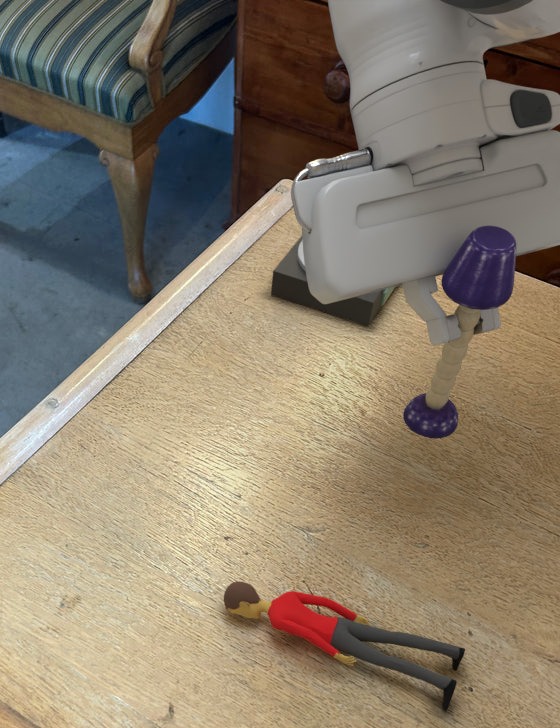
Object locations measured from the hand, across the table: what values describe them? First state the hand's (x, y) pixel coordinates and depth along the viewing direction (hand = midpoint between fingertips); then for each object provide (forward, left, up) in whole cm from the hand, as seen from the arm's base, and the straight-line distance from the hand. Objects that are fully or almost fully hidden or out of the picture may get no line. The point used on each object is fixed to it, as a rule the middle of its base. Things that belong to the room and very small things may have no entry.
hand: (466, 337), depth 63 cm
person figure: (-9, +15, -17) cm, 24 cm away
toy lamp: (+1, 0, -9) cm, 9 cm away
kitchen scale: (+18, -25, -18) cm, 36 cm away
